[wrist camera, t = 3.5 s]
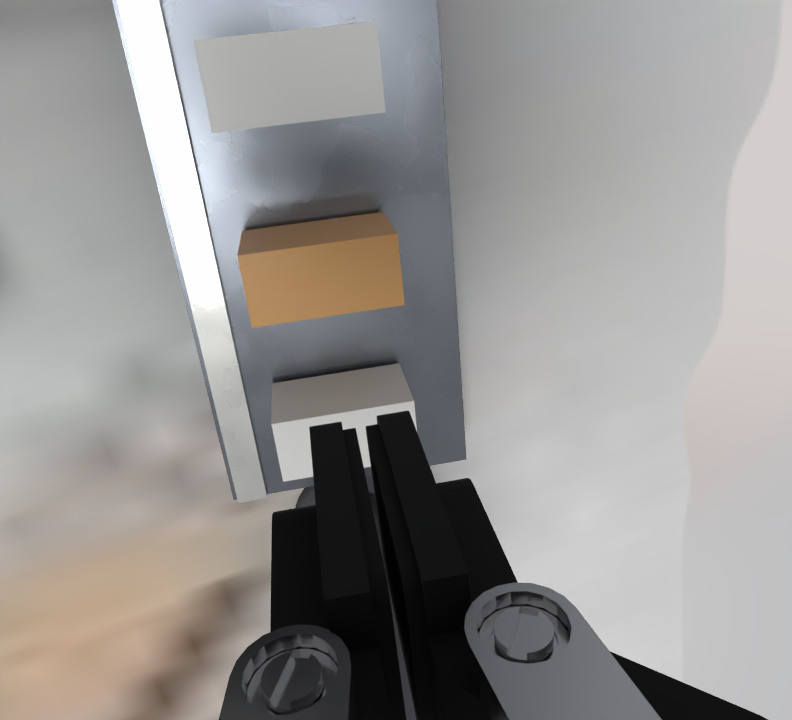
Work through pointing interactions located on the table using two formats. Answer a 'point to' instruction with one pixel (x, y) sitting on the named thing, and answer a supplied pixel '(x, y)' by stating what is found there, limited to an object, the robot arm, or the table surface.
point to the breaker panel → (302, 216)
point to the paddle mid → (320, 269)
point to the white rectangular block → (333, 410)
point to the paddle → (291, 76)
